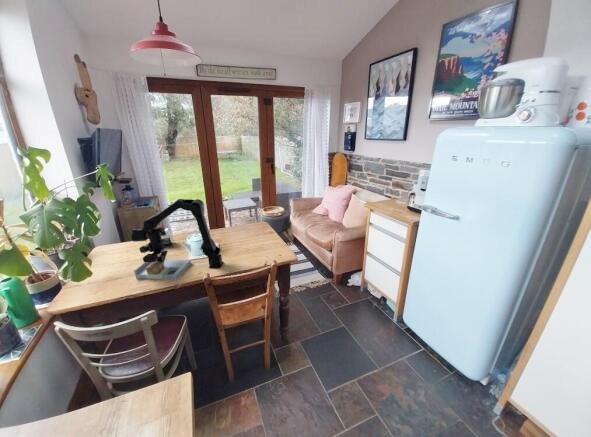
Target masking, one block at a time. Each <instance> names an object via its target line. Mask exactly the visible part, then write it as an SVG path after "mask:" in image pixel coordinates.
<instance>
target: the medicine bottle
mask: <svg viewBox="0 0 591 437" xmlns="http://www.w3.org/2000/svg"><path fill="white" fill-rule="evenodd" d="M163 229H164V230H163V232H162V233H161V237H162V239H164V241H166V242H172V243H173V244H174V243H175V241H174V238H173V233H172V232H171V233H170V229H169V228H167V227H164V228H163ZM167 248H169V246H167Z"/></svg>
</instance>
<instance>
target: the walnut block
mask: <svg viewBox="0 0 591 437" xmlns="http://www.w3.org/2000/svg"><path fill="white" fill-rule="evenodd" d="M163 269H165V267H164V263H163V262H152V263H151V264H149V265H148V266H147V267H146V270H147V274H159V273H160V272H161V271H162V270H163Z"/></svg>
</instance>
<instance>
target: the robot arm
mask: <svg viewBox="0 0 591 437" xmlns="http://www.w3.org/2000/svg"><path fill="white" fill-rule="evenodd" d="M179 209H181V210H184V211H189V212H190V213H191V215H192V216H193V218H195V220H196V222H197V227H198V229H199V232H200V235H201V238H202V243H201V246H200V249H201V250H202V254H204V256H206V257H207V260H208V265H209V266H208V269H221V267H222V265H224V261H223V258H222V254H220V253H221V250H222V249H221V248H220V247H219V246H217V245H216V243H215V241H214V240H213V239H212V237H211V233H210V230H209V228H208V223H207V220H206V218H205V204H204V201H203V200H201V199H198V198H196V199H191V198H190V199H187V198H186V199H184V198H178V199H177V200H176V201H174V202H173V203H172V204H170V205H169V206H167V207H166V208H164V209H162V211H160V212H158V213H155V214H154V215H153V214H152V215H151V216H149V217H148V218H147V219H146V220H144V222H143V228H133V229H132V230H131V231H132V232H131V241H133V242H134V243H136V242H146V241H147V240H149V242H148V243H146V244H144V245H142V246H140V247H139V248H138V249H139V252H140V253H141V254H145V253H147V252H149V253H147V254H145V255H144V256H143V257H142V261H143V263H144V262H155V261H156V260H157V261H158V262H163V263H164V261H165V259H166V257H167V254H168V252H169V250H166V248H169V249H171V248H172V247H174V243H172V242H166V241H164V239H162V237H161V233H162V232H163V230H164V229H163V228H162V227H160V226H159V225H160V224H161V223H162V222H163V221H164V220H165V219H166V218H168V217H169V216H170V215H172V214H173V213H174V212H176V211H177V210H179ZM158 226H159V227H158ZM157 227H158V228H157ZM167 246H169V247H167Z"/></svg>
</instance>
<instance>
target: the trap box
mask: <svg viewBox="0 0 591 437" xmlns="http://www.w3.org/2000/svg"><path fill="white" fill-rule="evenodd" d="M155 262H158V261H157V260H156V261H155ZM151 263H152V262H144V261H143V263H142V264H140V265H139V266H137V267H136V268H135V269H134V270H133V271H134V275H135V278H136V279H139V280H140V279H145V280H148V279H149V280H178V279H179V278H180V277H181V276H182V274H184V272H185V271H186V270H187V269H188V268H189V266H190V265H191V264H192V261H191V259H173V258H172V259H171V258H169V259H166V258H165V261H164V267H165V269H163V270H162V271H161V272H160V273H159V274H147V270H146V267H147V266H148V265H149V264H151Z"/></svg>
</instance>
